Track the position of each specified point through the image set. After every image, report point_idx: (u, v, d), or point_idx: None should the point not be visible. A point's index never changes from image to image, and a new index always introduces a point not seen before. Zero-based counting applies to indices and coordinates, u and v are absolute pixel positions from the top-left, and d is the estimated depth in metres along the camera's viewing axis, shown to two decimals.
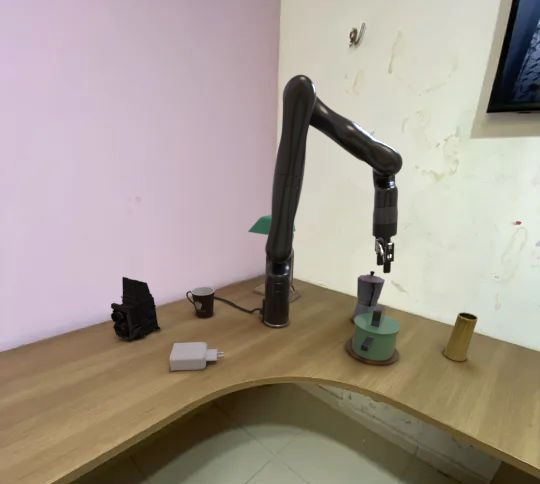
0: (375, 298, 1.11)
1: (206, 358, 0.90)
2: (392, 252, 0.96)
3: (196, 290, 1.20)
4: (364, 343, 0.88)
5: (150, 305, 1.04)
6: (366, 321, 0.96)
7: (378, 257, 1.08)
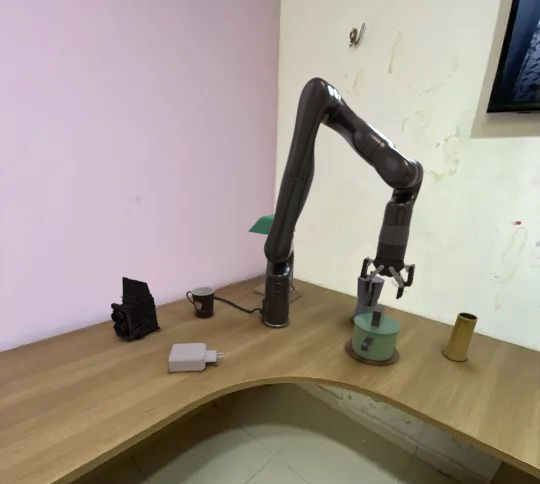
0: (375, 298, 1.11)
1: (205, 359, 0.89)
2: (362, 267, 0.91)
3: (196, 290, 1.20)
4: (364, 343, 0.88)
5: (150, 305, 1.04)
6: (366, 321, 0.96)
7: None
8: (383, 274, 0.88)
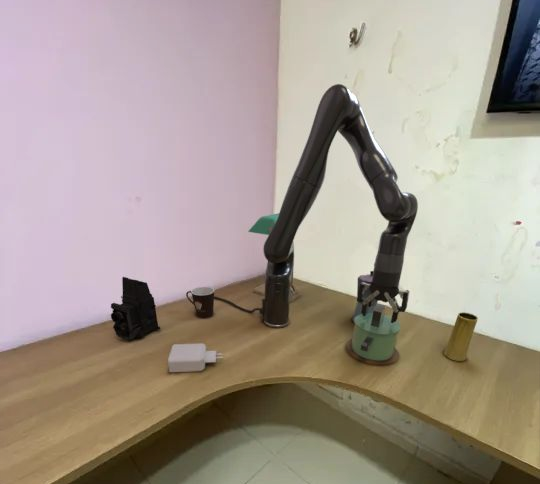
0: None
1: (205, 360, 0.89)
2: None
3: (196, 290, 1.20)
4: (364, 343, 0.88)
5: (150, 305, 1.04)
6: (366, 321, 0.96)
7: None
8: (378, 299, 0.92)
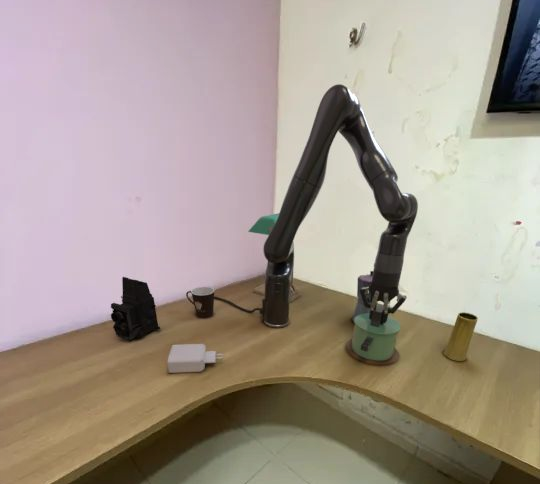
0: None
1: (204, 360, 0.89)
2: None
3: (196, 290, 1.20)
4: (364, 343, 0.88)
5: (150, 305, 1.04)
6: (366, 321, 0.96)
7: None
8: (378, 299, 0.92)
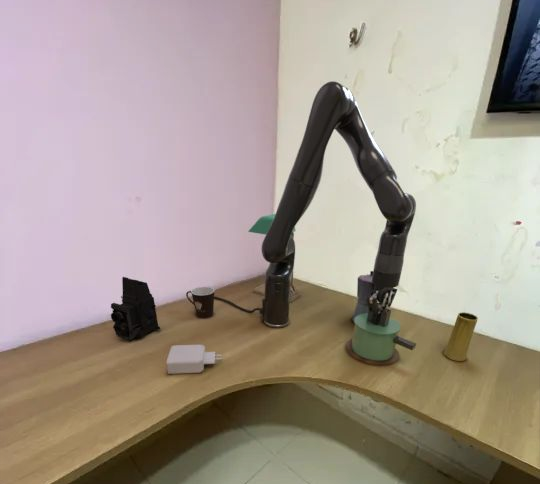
0: None
1: (204, 361, 0.88)
2: (373, 307, 0.89)
3: (196, 290, 1.20)
4: (409, 343, 0.89)
5: (150, 305, 1.04)
6: (374, 326, 0.93)
7: None
8: None
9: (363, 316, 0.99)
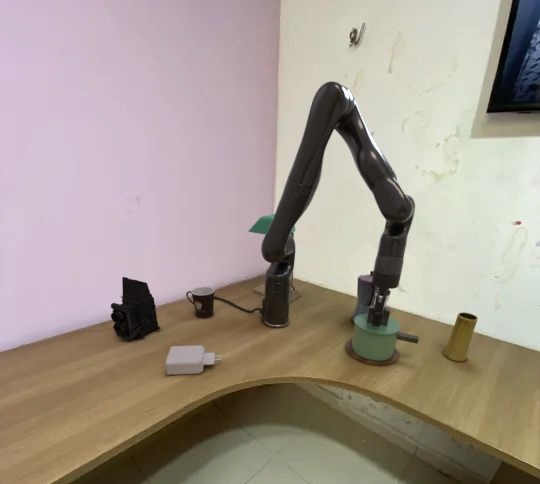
0: None
1: (203, 362, 0.88)
2: (381, 306, 0.86)
3: (196, 290, 1.20)
4: (413, 337, 0.92)
5: (150, 305, 1.04)
6: (378, 327, 0.93)
7: None
8: None
9: (360, 319, 0.98)
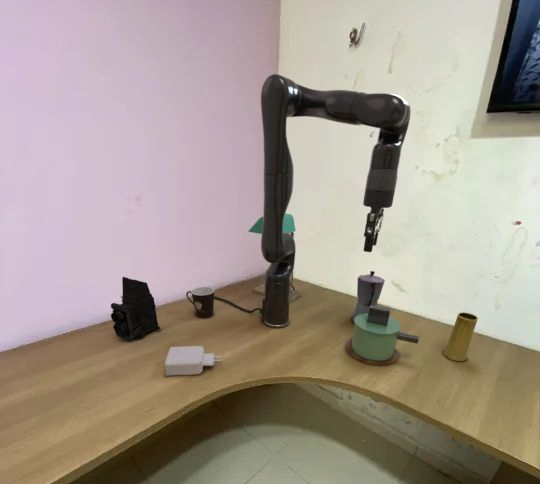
0: (375, 298, 1.11)
1: (203, 363, 0.88)
2: (373, 225, 0.79)
3: (196, 290, 1.20)
4: (413, 337, 0.92)
5: (150, 305, 1.04)
6: (378, 327, 0.93)
7: None
8: None
9: (360, 319, 0.98)
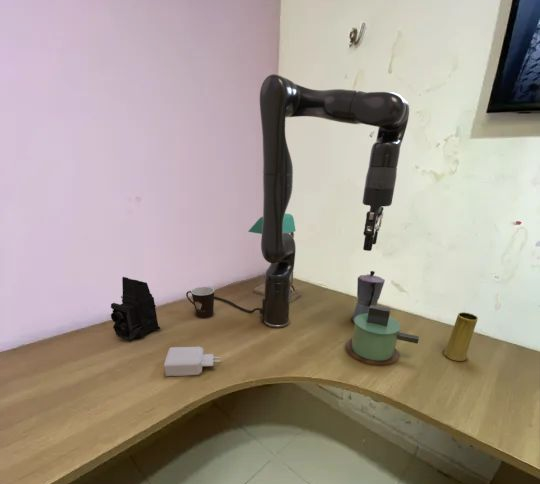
0: (375, 298, 1.11)
1: (202, 363, 0.87)
2: (373, 224, 0.79)
3: (196, 290, 1.20)
4: (413, 337, 0.92)
5: (150, 305, 1.04)
6: (378, 327, 0.93)
7: None
8: None
9: (360, 319, 0.98)
